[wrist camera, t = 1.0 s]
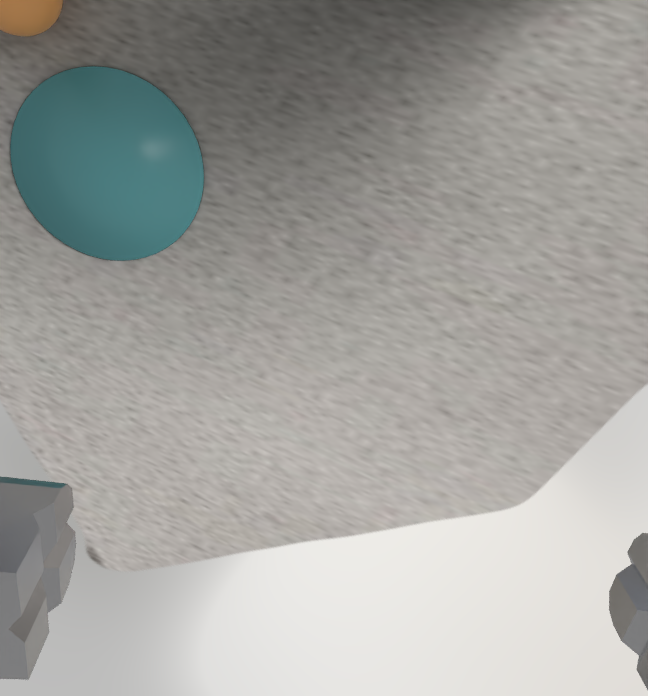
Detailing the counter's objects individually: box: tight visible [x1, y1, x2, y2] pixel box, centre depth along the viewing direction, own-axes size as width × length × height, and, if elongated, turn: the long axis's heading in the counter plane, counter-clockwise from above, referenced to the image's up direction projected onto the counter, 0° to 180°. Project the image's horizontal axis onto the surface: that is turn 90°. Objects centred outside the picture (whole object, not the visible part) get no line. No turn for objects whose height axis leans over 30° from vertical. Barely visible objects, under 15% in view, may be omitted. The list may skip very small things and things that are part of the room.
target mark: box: [10, 66, 204, 261], centre depth 45 cm, size 14×14×1 cm
